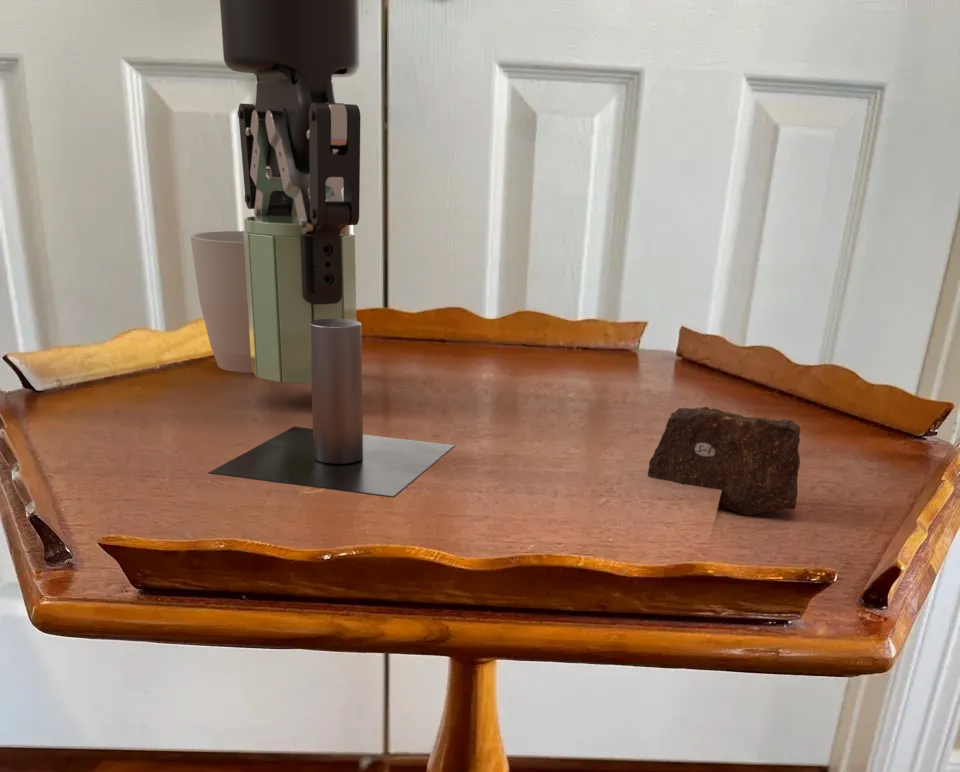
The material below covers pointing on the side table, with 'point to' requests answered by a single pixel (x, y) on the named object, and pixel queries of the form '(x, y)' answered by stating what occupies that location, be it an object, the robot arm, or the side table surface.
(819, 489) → the side table surface
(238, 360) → the cup
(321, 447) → the holder
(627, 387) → the side table surface
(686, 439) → the stone
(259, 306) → the tumbler
